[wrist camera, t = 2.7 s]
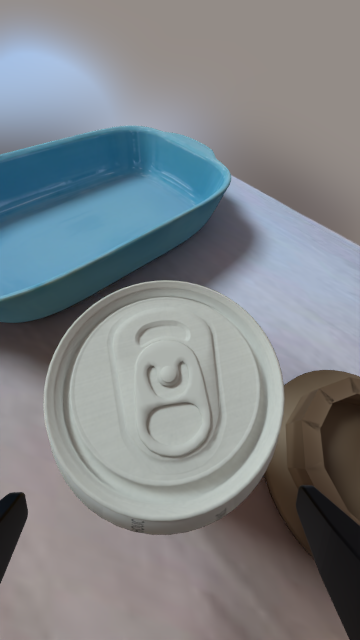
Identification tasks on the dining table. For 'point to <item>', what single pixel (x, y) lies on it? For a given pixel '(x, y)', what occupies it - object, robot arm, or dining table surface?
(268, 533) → the dining table surface
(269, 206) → the dining table surface
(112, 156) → the casserole dish
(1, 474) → the dining table surface
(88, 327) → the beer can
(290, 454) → the can holder
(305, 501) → the robot arm
